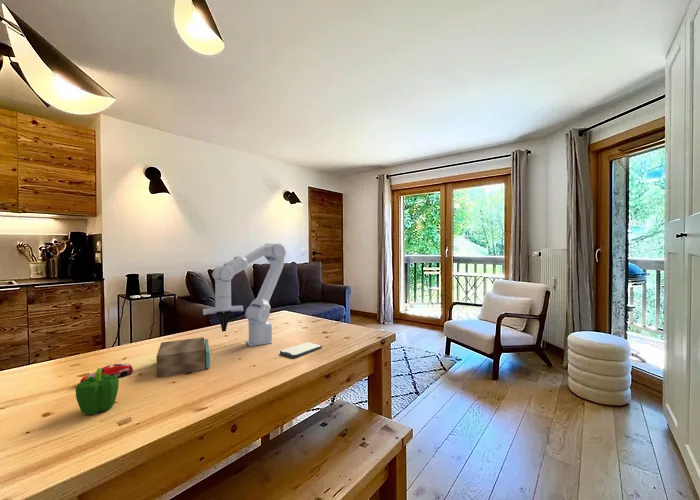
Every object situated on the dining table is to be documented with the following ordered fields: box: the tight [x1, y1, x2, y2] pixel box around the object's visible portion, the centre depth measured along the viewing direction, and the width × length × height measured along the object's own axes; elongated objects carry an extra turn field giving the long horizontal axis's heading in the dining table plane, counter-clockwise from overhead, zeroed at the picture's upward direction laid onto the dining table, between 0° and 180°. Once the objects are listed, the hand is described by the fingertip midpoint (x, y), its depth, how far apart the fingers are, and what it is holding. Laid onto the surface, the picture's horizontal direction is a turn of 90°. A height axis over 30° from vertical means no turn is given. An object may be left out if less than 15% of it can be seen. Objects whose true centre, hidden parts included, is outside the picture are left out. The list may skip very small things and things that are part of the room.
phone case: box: [279, 341, 323, 359], centre depth 123 cm, size 9×2×16 cm
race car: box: [79, 363, 134, 384], centre depth 97 cm, size 13×5×4 cm, turn 142°
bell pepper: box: [75, 367, 120, 416], centre depth 78 cm, size 8×8×10 cm
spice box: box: [155, 336, 206, 378], centre depth 108 cm, size 14×16×7 cm
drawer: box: [204, 338, 211, 369], centre depth 109 cm, size 14×16×6 cm
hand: (223, 330), depth 122 cm, fingers closed
